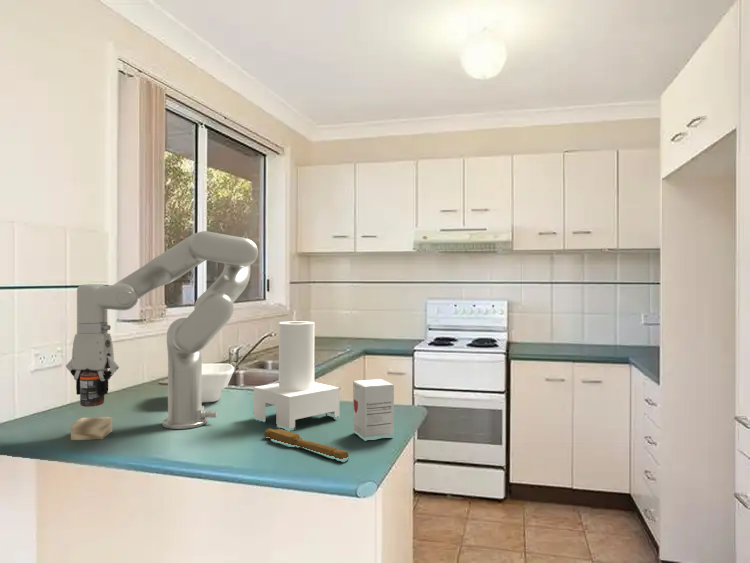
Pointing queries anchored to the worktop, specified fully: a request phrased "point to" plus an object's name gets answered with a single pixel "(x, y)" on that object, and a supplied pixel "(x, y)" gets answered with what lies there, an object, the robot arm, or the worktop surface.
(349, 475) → the worktop surface
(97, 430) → the maple block
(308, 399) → the paper towel holder
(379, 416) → the supplement box
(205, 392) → the bowl
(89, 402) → the supplement bottle
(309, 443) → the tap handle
